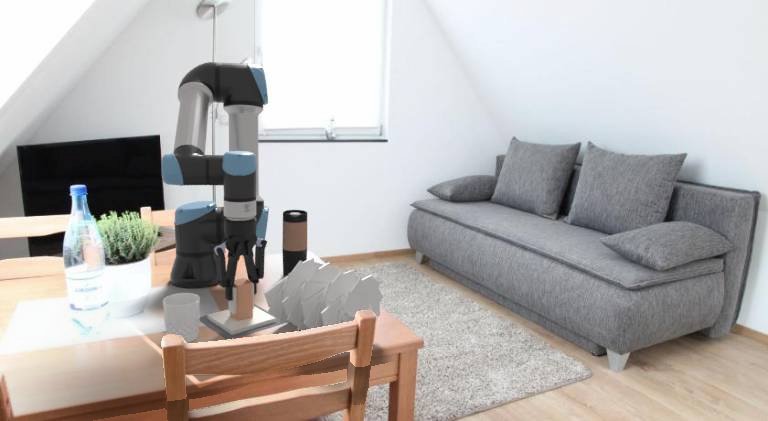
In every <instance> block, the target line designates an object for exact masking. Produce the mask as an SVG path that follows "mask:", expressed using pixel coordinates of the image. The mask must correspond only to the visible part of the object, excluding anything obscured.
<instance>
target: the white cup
mask: <svg viewBox="0 0 768 421" xmlns="http://www.w3.org/2000/svg"><path fill="white" fill-rule="evenodd" d="M200 306H201V297H200V295H199V294H196V293H192V292H177V293H173V294H169V295H168V296H166V297H164V298H163V299H162V308H163V317H164V326H165V332H166V335H167V334H175V335H181V336H182V337H183V338H184V340H185V341H186V342H188V343H190V342H193V341H196V340H197V339H198V338H199V331H200V330H199V329H200V321H199V320H200V317H201V316H200V315H201V313H200V312H201V311H200V308H201V307H200Z"/></svg>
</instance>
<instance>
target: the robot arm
mask: <svg viewBox="0 0 768 421" xmlns="http://www.w3.org/2000/svg"><path fill="white" fill-rule="evenodd" d="M177 99H178V102H179V109H178V115H177V123H176V131H175V136H174V145H173V152H172V153H169V154H164V155H163V156H162V158H161V168H160V169H161V178H162V181H163V183H164V184H165V185H170V186H171V185H172V186H223V206H217V203H216V201H213V200H200V201H193V202H188V203H186V204H182V205H180V206H178V207H177V208H176V209H175V211H174V222H173V225H174V234H175V237H174V238H175V239H174V241H175V259H174V261H173V264H172V268H171V271H170V274H169V275H170V283H171V284H172V285H174V286H175V287H179V288H190V289H195V288H197V287H199V288H206V287H211V286H214V285H217V286H220V287H221V288H224V291H225V292H224V293H225V294H224V297H225V300H227V301H228V302H227V303H228V304H227V305H228V309H229V311H230V312H232V313H233V314H236V313H237V288H236V287H234V281H235V280H236V274H237V269H238V262H239V261H240V258H241V256H243V259H244V260H243V261H244V266H245V269H246V274H247V280H249V281H251V282H253V309H254V304H255V295H256V294H257V291H258V289H257V288H258V286H257V285H258V284H259V283H260V280H262V279H264V277H265V256H266V255H265V253H266V248H267V244H268V241H267V240H266V235H267V229H268V221H269V220H268V219H269V211H270V210H269V209H270V207H269V206H267V205H265V200H264V199H263V197H261V196H260V190H259V189H260V187H259V186H260V184H259V183H260V182H259V177H260V176H259V173H260V172H259V169H260V168H259V164H260V163H259V116H260V114H261V113H262V112H263V111H264V106H266V105H268V104H269V97H268V87H267V80H266V73H265V70H264V68H263V66H261V65H260V64H251V63H242V62H241V63H237V62H216V61H210V62H209V61H208V62H204V63H201V64H199V65H197V66H195V67H193V68H192V69H190V70H189V71H188V72H187V73H186V74H185V75H184V76H183V78H182V79H181V81H180V83H179V86H178V89H177ZM213 103H218V104H220V103H221V104H222V106H223V107H222V108H223V110H224V111H225V112H226V113H227V114H228V151H225V152H224V153H223V154H206V147H207V146H206V144H207V134H208V133H207V131H208V120H209V119H208V118H209V108H210V106H211V105H212V104H213ZM254 247H255V248H254ZM253 249H254V250H253ZM226 250H227V251H228V253H227V261H226V255H225V254H226ZM254 251H255V252H254ZM226 263H227V264H226ZM197 289H198V288H197Z"/></svg>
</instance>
